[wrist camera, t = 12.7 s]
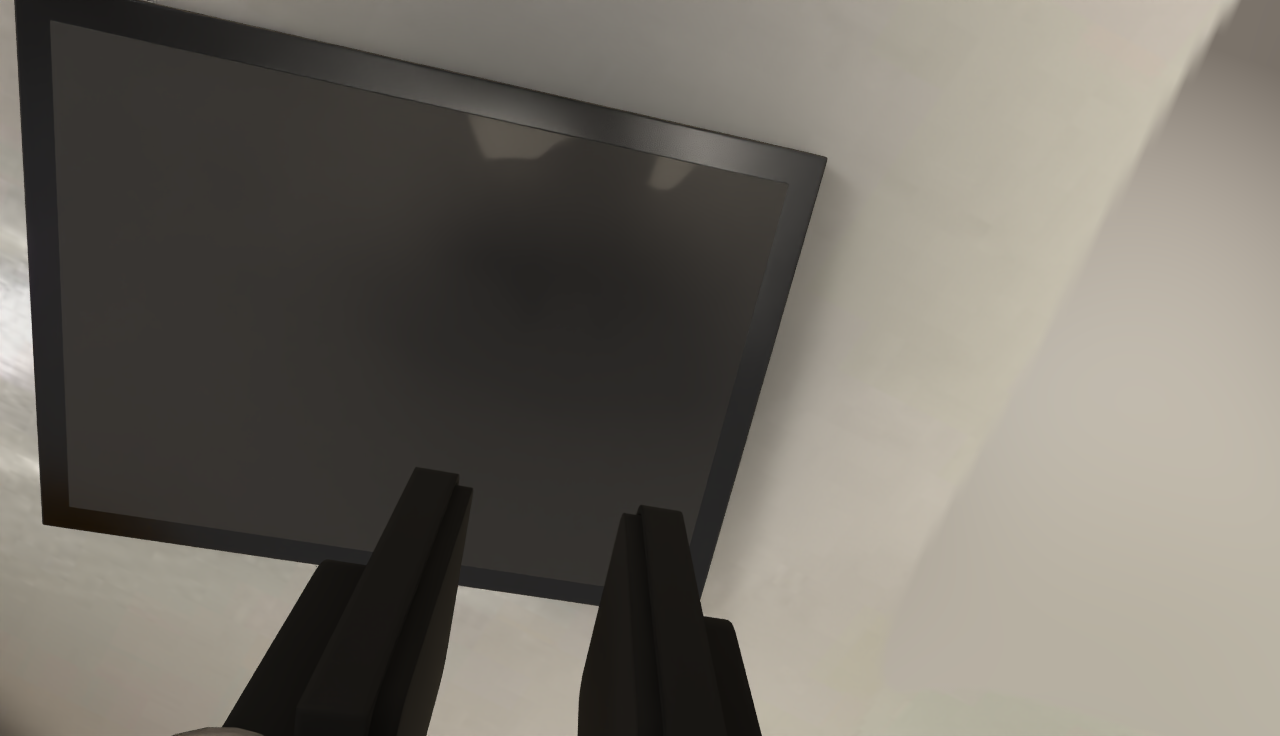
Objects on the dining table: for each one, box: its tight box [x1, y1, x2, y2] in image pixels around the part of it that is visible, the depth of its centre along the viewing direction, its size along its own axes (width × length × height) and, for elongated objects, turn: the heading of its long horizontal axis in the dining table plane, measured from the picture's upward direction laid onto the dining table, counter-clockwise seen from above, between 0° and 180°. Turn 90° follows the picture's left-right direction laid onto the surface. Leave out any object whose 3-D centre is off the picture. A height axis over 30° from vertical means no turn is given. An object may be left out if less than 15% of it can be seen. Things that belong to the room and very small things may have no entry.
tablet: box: [14, 0, 827, 606], centre depth 17 cm, size 12×16×1 cm
